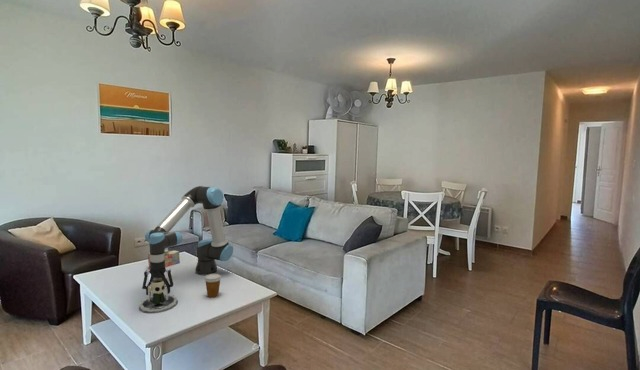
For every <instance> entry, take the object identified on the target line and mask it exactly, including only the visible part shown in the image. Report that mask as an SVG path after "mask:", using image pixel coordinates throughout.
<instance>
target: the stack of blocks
mask: <svg viewBox="0 0 640 370" xmlns="http://www.w3.org/2000/svg"><path fill="white" fill-rule="evenodd" d="M147 256H148V257H147V258H148V259H147V260H148V270H150V262H151V261H150V252H148V253H147ZM180 262H181V261H180V251H178V250H170V251H169V249H165V268H168V267H171V266H175V265H177V264H180Z"/></svg>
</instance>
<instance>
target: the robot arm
mask: <svg viewBox="0 0 640 370" xmlns="http://www.w3.org/2000/svg"><path fill="white" fill-rule="evenodd" d="M224 197H225V196H224V192H223V191H222V190H221V189H220V188H219V187H214V186H203V185H199V186H198V185H197V186H195V187H193V188H191V189H190V190H188V191H187V192H186V193H184V194H183V196H181V200H180V201H179V203H177V204H176V206H175V207H174V208H173V209H172V210H171V211H170V212H169V213H168V214H166V216H165V217H164V218H163V219H162V220H161V222H160V223H159V224H158V225H157V226H156V227H155V228H154V229H149V230H147V231H146V232H145V235H144V239H145V241H146V242H148V244H149V246H148V247H149V253H150V261H151V262H150V269H148V270H145V271H143V272H144V273H143V276H144V277H143V278H144V279H143V282H142V287H141V289H142V290H145V295H146V296H147V298H148V301H150V300H151V297H152V292H151V291H150V292H148V286H151V282H152V281H153V280H154V279H157V278H162V279H163V281H164V283H165V286H167V287H165V294H166V300H168V295H170V293H171V288H173V287H174V281H173V276H172V269H171V268H170V269H167V267H165V250H166V249H168V248H170V247H174V246H177V245H180V244H181V243H182V241H183V235H182V234H181V232H179V231H173V232H170V231H171V230H172V229H173V228H174V227H175V226H176V224H178V222H179V221H180V220H181V219H182V218H183V217H184V216H185V214H186V213H188V211H189V210H191V209H192V208H194V207H195V206H196V205H198V204H200V205H201V204H202V208H203V210H205V211H206V214H207V220H208V225H209V229H210V235H211V238H207V239H206V238H205V239H201V240H199V241H198V242H197V246H196V247H197V248H196V249H197V250H196V251H197V263H196V266H195V269H194V270H195V274H196V275H201V276H207V275H209V274H216V273H218V272H217V271H218V266H217V263H216V261H220V262H227V261H229V260H230V259H231V258H232V256H233V253H234V246H233V245H232V244H229V240H228V238H226V236H225V235H226V233H225V230H224V225H223V221H222V220H223V219H222V213H221V210H220V208H221V206H222V204H223V202H224ZM165 273H166V274H167V277H166V275H165ZM149 274H150V275H151V277H150V279H149V281H148V276H149ZM147 281H148V284H147ZM150 290H151V287H150Z"/></svg>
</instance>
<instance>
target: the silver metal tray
mask: <svg viewBox="0 0 640 370" xmlns="http://www.w3.org/2000/svg"><path fill="white" fill-rule="evenodd" d="M164 299H165V301H164V302H163V303H162V302H160V304H153V302H152V300H153V295H151V300H150V301H148V297H146V298H145V299H143V300H141V301H140V303H139V305H138V310H139V311H140V312H141V313H144V314H156V313H157V314H159V313H162V312H166V311H169V310H172V309H174V307H176V306H177V305H178V302H179V301H178V297H177V296H175V295H172V294H168V300H166V293H165V294H164Z"/></svg>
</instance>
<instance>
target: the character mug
mask: <svg viewBox="0 0 640 370" xmlns="http://www.w3.org/2000/svg"><path fill="white" fill-rule="evenodd" d="M150 288H151V290H150ZM166 288H167V286H166V285H165V283H164V281H163V279H162V278H161V277H158V278H154V279H153V281H152V282H151V285H150V286H148V292H150V291H151V294H152V296H153V300H152V302H153V304H160V302H162V303H163V302H164V301H165V299H164V295H165V294H164V292H165V291H166Z"/></svg>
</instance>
